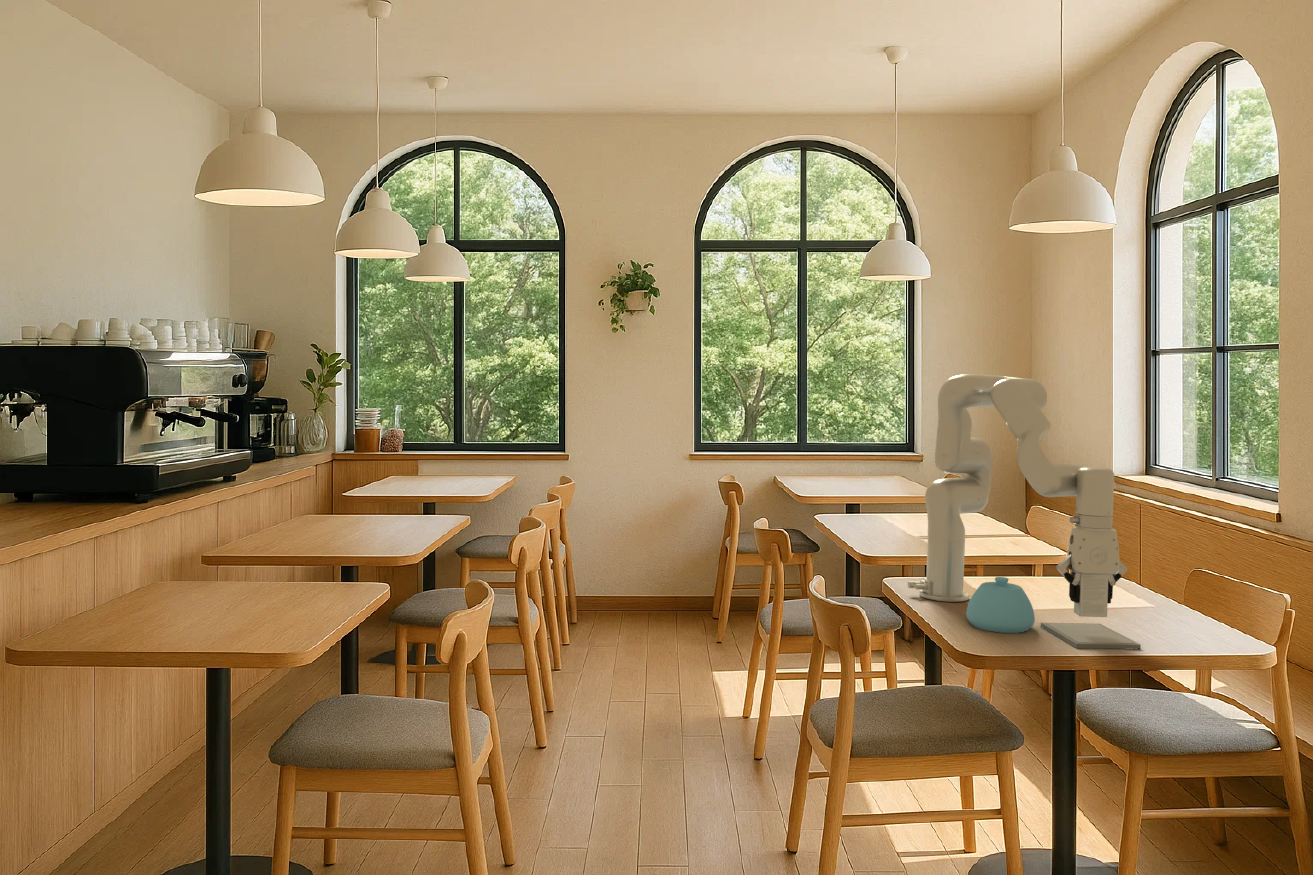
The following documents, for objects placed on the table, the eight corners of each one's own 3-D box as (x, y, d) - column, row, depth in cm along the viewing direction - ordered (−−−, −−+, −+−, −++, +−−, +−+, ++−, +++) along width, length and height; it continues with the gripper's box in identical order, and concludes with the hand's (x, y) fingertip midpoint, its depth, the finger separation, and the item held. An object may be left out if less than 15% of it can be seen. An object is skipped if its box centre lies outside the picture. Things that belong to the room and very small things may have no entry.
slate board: (1076, 648, 202) (1076, 643, 202) (1040, 626, 220) (1040, 622, 220) (1140, 649, 202) (1140, 644, 202) (1099, 627, 220) (1099, 623, 220)
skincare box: (1100, 613, 213) (1102, 560, 212) (1107, 617, 208) (1109, 564, 208) (1072, 612, 213) (1074, 559, 213) (1079, 616, 209) (1081, 563, 208)
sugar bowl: (952, 621, 224) (954, 573, 223) (1002, 616, 230) (1004, 569, 229) (996, 637, 210) (999, 586, 209) (1048, 632, 216) (1050, 582, 215)
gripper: (1062, 524, 206) (1059, 605, 207) (1141, 525, 206) (1137, 606, 207) (1048, 519, 213) (1044, 597, 214) (1123, 520, 214) (1120, 598, 214)
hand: (1090, 601), depth 211 cm, fingers closed on skincare box, 6 cm apart
